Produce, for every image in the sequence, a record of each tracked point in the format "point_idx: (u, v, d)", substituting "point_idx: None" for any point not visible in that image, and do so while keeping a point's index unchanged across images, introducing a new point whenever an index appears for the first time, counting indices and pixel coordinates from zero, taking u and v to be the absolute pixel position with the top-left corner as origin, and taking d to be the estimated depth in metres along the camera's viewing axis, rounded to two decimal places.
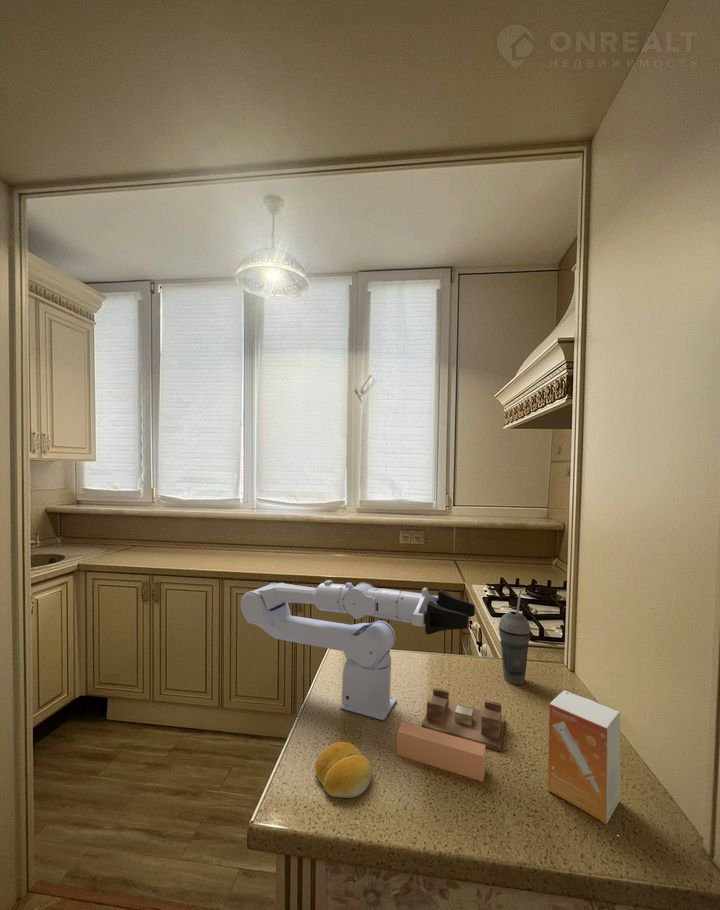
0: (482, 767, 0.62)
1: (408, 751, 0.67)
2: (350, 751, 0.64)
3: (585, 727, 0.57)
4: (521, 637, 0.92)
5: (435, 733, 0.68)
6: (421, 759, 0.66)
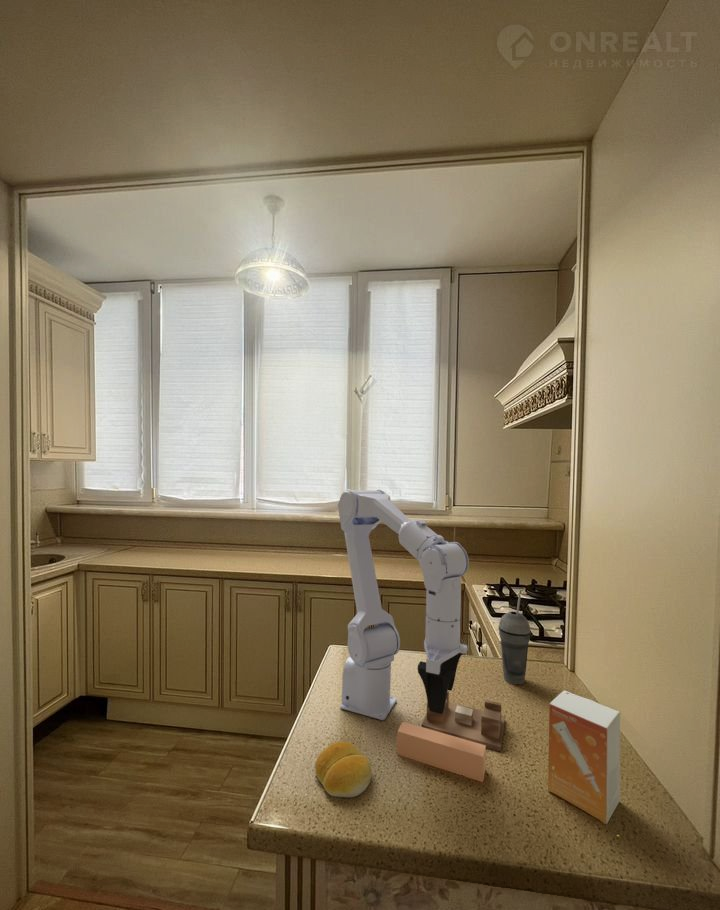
0: (482, 768, 0.62)
1: (408, 751, 0.67)
2: (350, 750, 0.64)
3: (585, 727, 0.57)
4: (521, 637, 0.92)
5: (436, 733, 0.68)
6: (421, 759, 0.66)
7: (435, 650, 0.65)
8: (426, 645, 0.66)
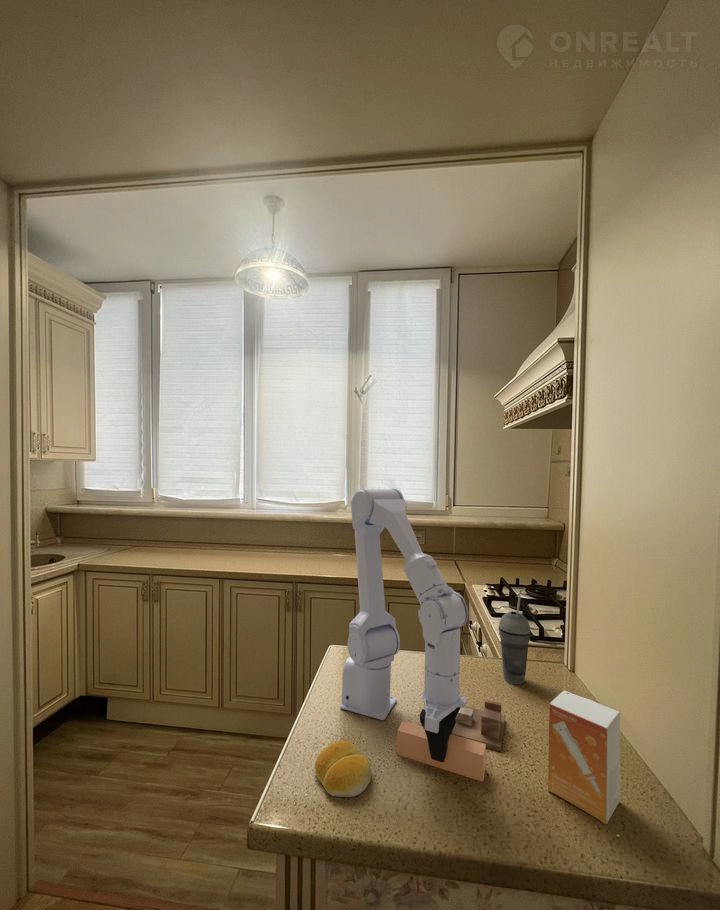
0: (482, 766, 0.62)
1: (408, 750, 0.67)
2: (349, 750, 0.64)
3: (585, 727, 0.57)
4: (521, 637, 0.92)
5: None
6: (421, 758, 0.66)
7: (434, 704, 0.64)
8: (425, 698, 0.66)
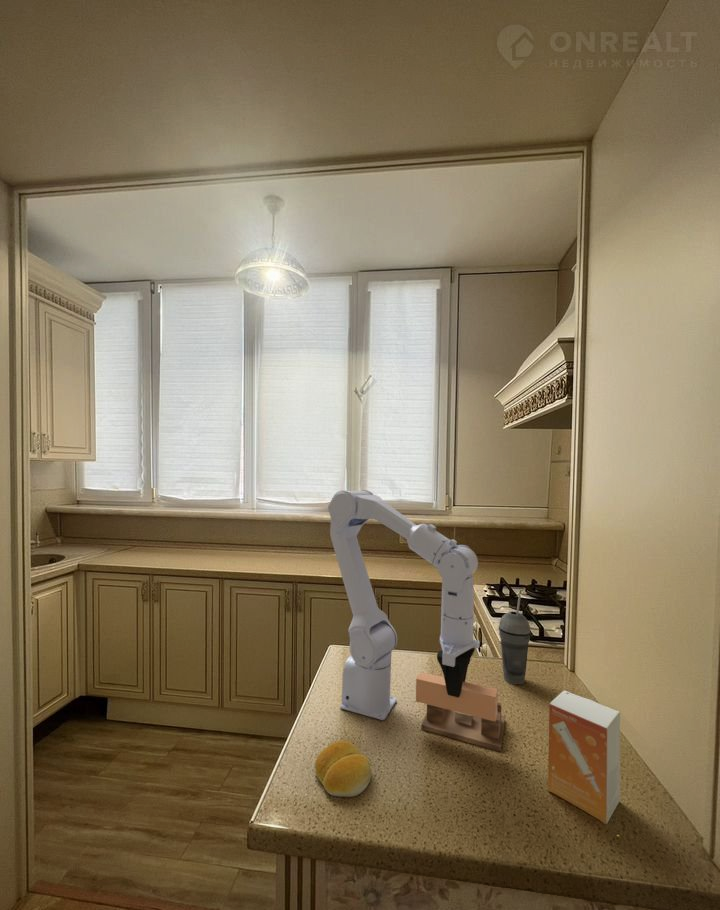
0: (494, 707, 0.69)
1: (426, 696, 0.73)
2: (349, 750, 0.64)
3: (585, 727, 0.57)
4: (521, 637, 0.92)
5: None
6: (438, 703, 0.72)
7: (450, 645, 0.71)
8: (442, 640, 0.72)
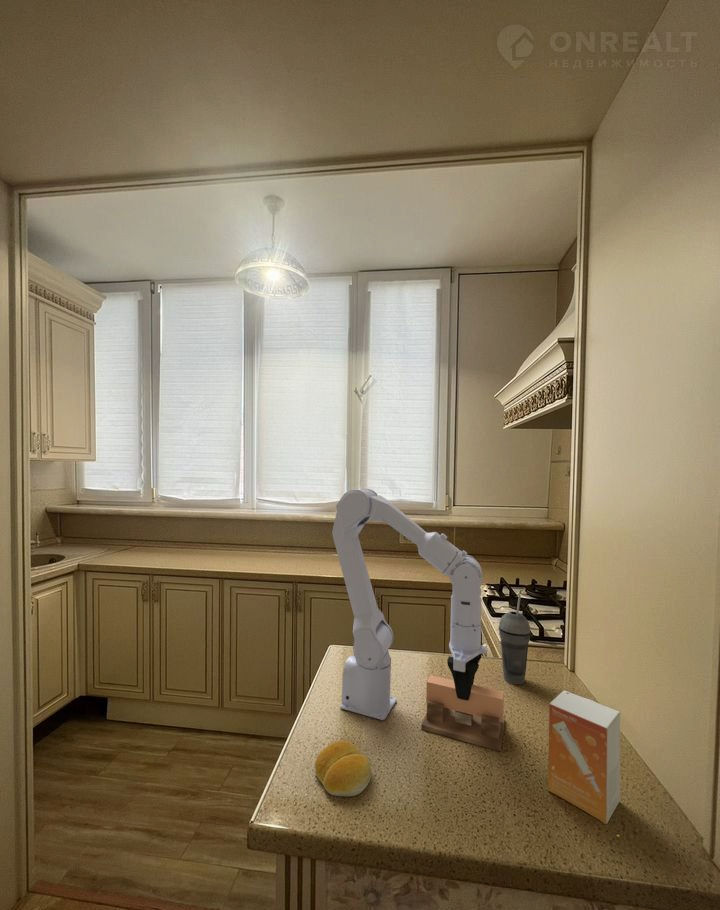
0: (501, 709, 0.73)
1: (436, 698, 0.77)
2: (349, 750, 0.64)
3: (585, 727, 0.57)
4: (521, 637, 0.92)
5: None
6: (448, 704, 0.76)
7: (460, 651, 0.75)
8: (451, 647, 0.76)
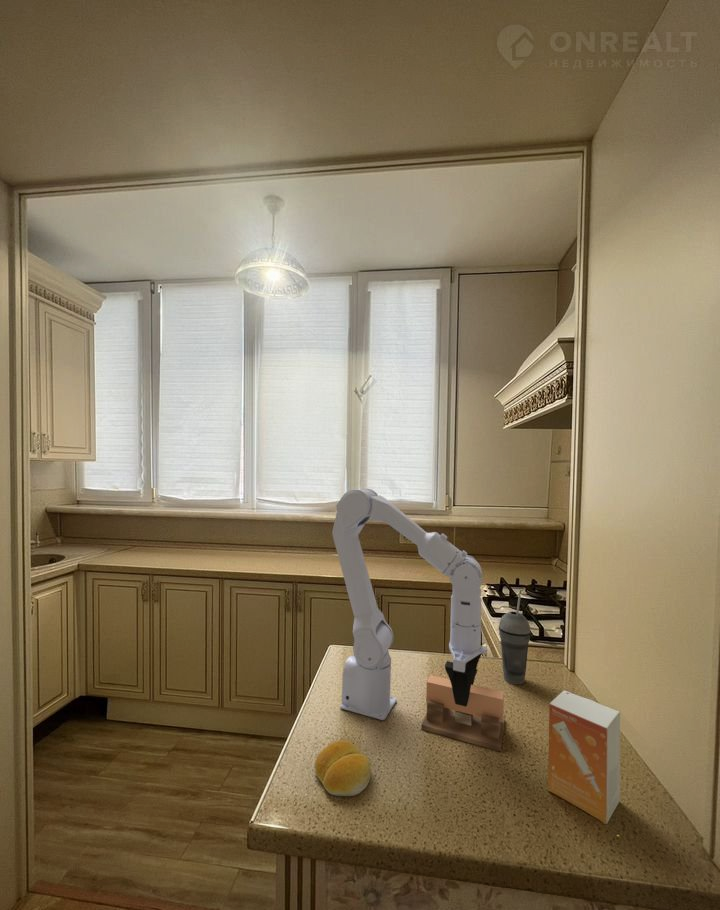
0: (501, 709, 0.73)
1: (436, 698, 0.77)
2: (349, 749, 0.64)
3: (585, 727, 0.57)
4: (521, 637, 0.92)
5: None
6: (448, 704, 0.76)
7: (459, 651, 0.75)
8: (451, 647, 0.76)
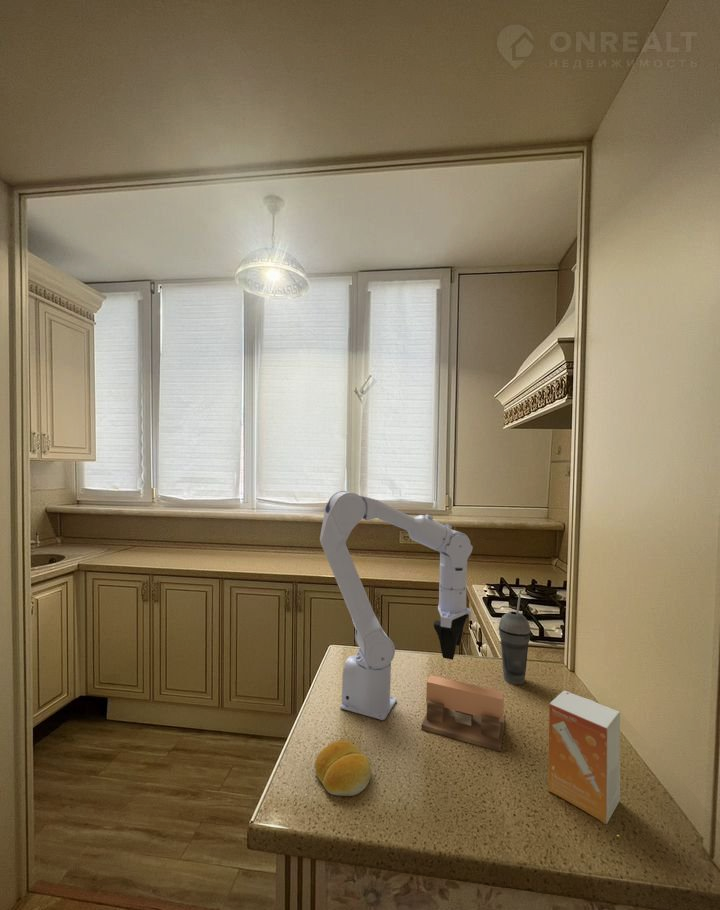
0: (501, 709, 0.73)
1: (436, 698, 0.77)
2: (349, 749, 0.64)
3: (585, 727, 0.57)
4: (521, 637, 0.92)
5: (460, 683, 0.78)
6: (448, 704, 0.76)
7: (447, 611, 0.84)
8: (440, 608, 0.85)
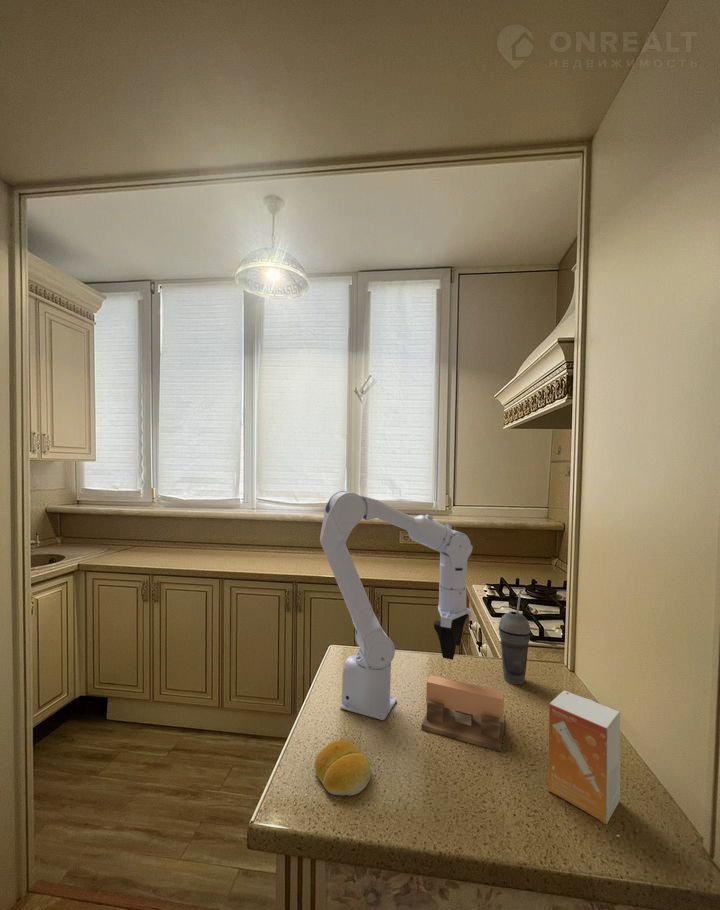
0: (501, 709, 0.73)
1: (436, 698, 0.77)
2: (349, 749, 0.64)
3: (585, 727, 0.57)
4: (521, 637, 0.92)
5: (460, 683, 0.78)
6: (448, 704, 0.76)
7: (447, 611, 0.84)
8: (440, 608, 0.85)
